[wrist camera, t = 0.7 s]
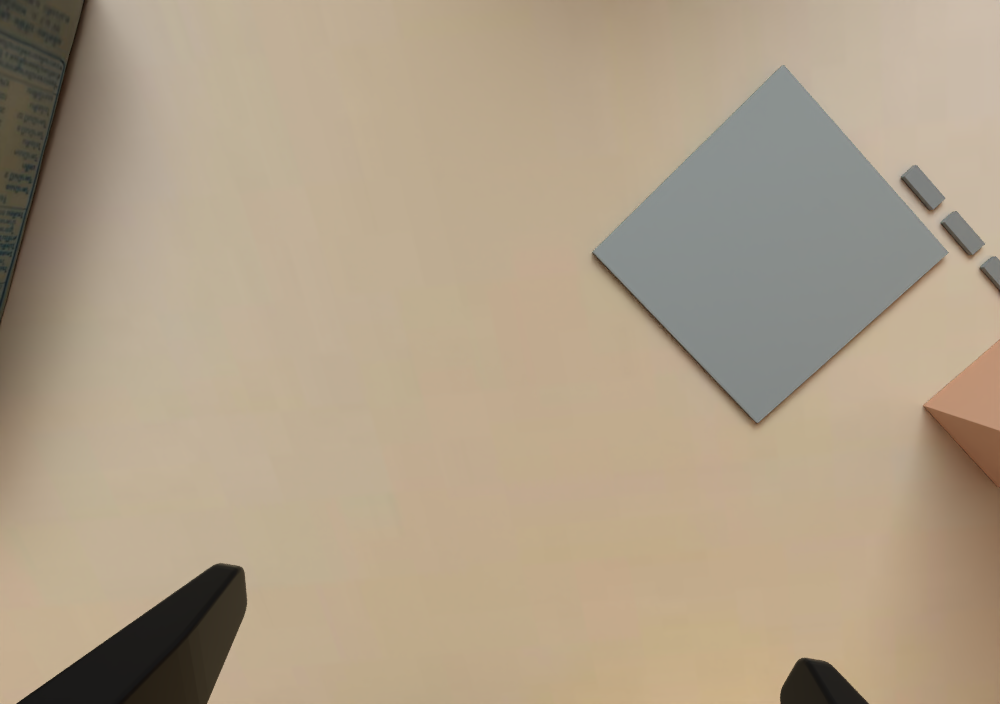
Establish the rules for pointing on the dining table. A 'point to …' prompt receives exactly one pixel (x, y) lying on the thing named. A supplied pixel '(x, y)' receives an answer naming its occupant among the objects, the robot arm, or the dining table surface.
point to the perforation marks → (951, 220)
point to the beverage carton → (27, 107)
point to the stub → (974, 411)
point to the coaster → (770, 246)
